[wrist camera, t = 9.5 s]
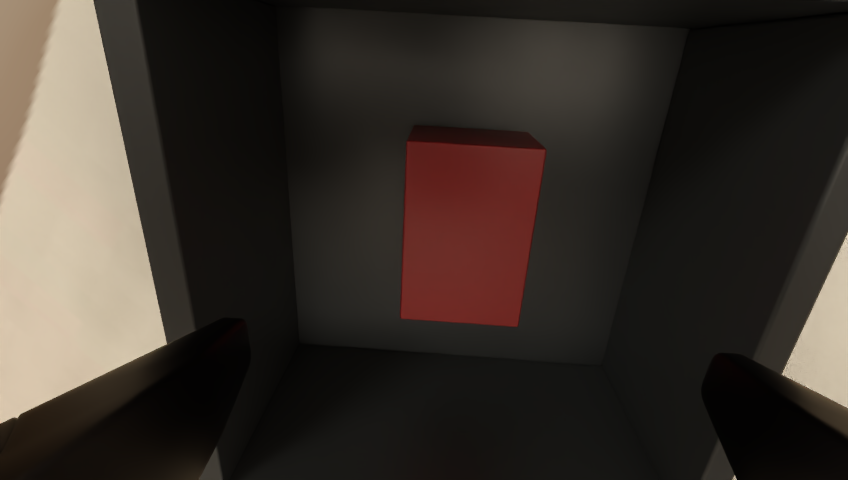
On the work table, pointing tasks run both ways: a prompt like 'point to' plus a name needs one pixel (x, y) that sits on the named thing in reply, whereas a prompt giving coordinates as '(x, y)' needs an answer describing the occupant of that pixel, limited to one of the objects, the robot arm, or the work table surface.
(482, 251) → the red rectangular block
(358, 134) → the storage bin
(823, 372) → the work table surface
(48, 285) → the work table surface
